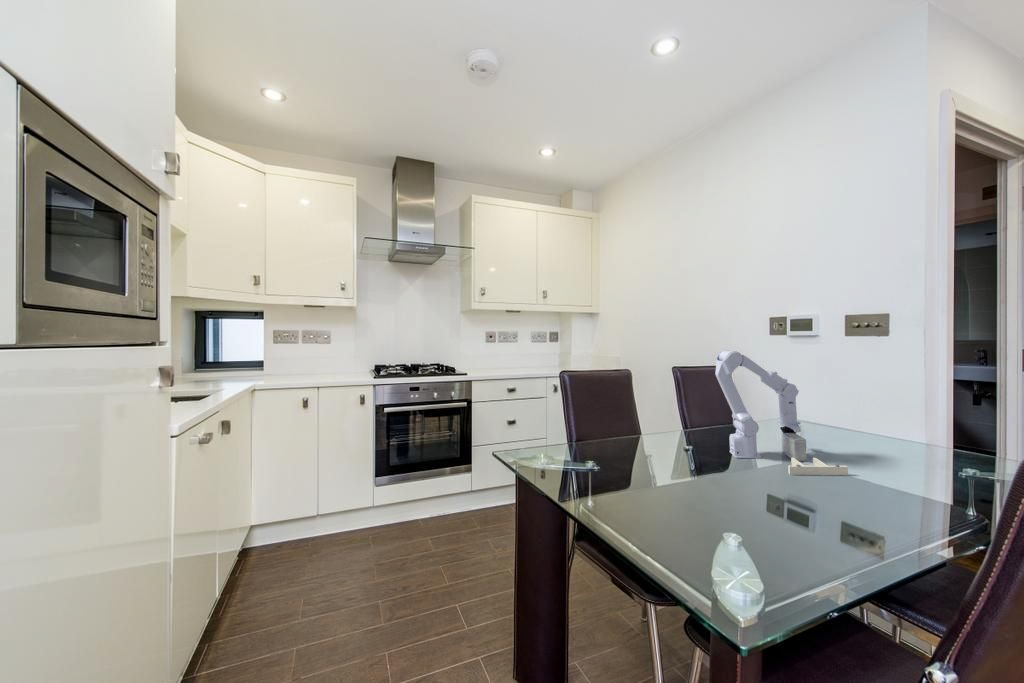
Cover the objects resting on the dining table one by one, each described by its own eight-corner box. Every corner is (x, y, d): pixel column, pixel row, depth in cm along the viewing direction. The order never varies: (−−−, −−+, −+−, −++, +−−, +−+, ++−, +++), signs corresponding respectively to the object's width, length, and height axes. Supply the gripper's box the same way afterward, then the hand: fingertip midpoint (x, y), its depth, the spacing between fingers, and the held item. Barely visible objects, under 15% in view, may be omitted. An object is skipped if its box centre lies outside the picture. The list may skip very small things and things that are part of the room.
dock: (790, 474, 141) (789, 465, 141) (776, 464, 151) (776, 455, 151) (848, 475, 137) (848, 466, 137) (830, 464, 148) (830, 455, 147)
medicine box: (806, 461, 152) (806, 439, 151) (794, 461, 153) (794, 439, 152) (794, 453, 160) (794, 432, 159) (782, 453, 161) (782, 432, 160)
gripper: (808, 415, 152) (810, 450, 153) (790, 407, 166) (792, 438, 167) (788, 416, 154) (790, 450, 154) (771, 408, 168) (773, 439, 168)
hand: (790, 444), depth 161 cm, fingers closed, pressing on medicine box
